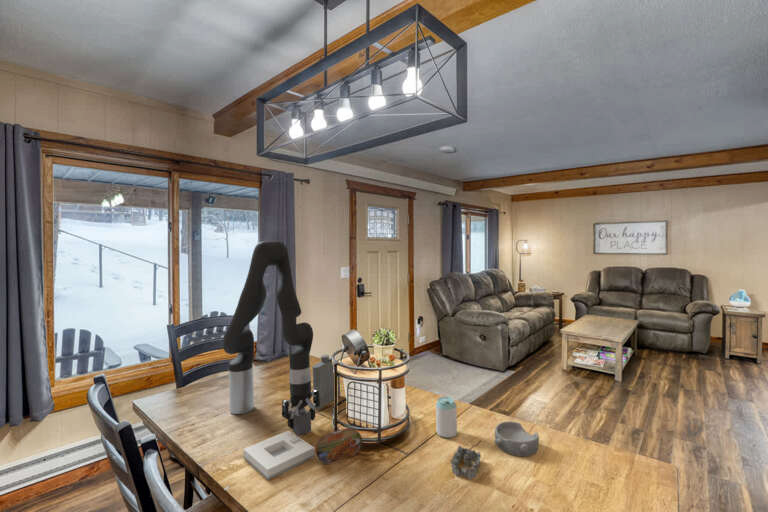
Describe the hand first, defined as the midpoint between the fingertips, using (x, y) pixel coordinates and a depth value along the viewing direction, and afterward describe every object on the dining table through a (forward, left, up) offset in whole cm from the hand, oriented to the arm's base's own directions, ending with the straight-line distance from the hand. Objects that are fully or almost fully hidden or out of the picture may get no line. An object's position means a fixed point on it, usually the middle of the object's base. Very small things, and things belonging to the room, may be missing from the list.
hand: (301, 423), depth 135 cm
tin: (+23, -1, -3) cm, 23 cm away
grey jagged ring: (+55, +22, -3) cm, 59 cm away
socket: (+9, -14, -3) cm, 17 cm away
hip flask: (-14, +21, -3) cm, 26 cm away
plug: (0, 0, -3) cm, 3 cm away
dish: (+60, +43, -3) cm, 74 cm away
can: (+39, +34, -3) cm, 52 cm away
